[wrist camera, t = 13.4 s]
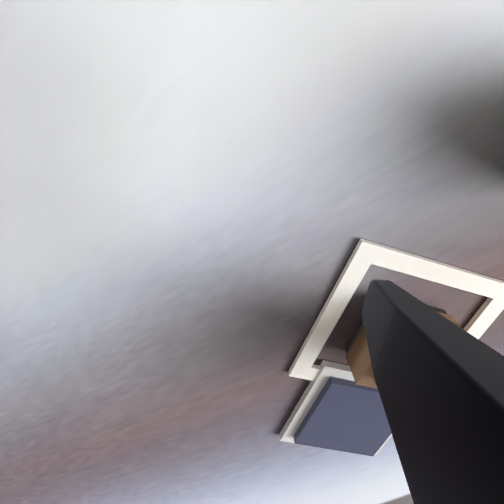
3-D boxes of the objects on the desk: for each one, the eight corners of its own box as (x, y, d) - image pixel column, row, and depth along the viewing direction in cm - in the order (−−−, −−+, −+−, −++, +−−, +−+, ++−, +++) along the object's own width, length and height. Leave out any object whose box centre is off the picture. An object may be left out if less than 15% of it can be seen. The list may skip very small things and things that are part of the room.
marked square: (288, 371, 28) (288, 376, 28) (360, 238, 23) (362, 241, 22) (422, 399, 30) (425, 403, 30) (516, 284, 25) (520, 288, 25)
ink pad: (279, 433, 31) (281, 447, 30) (323, 359, 27) (326, 372, 26) (372, 449, 33) (377, 463, 32) (425, 382, 29) (433, 395, 28)
